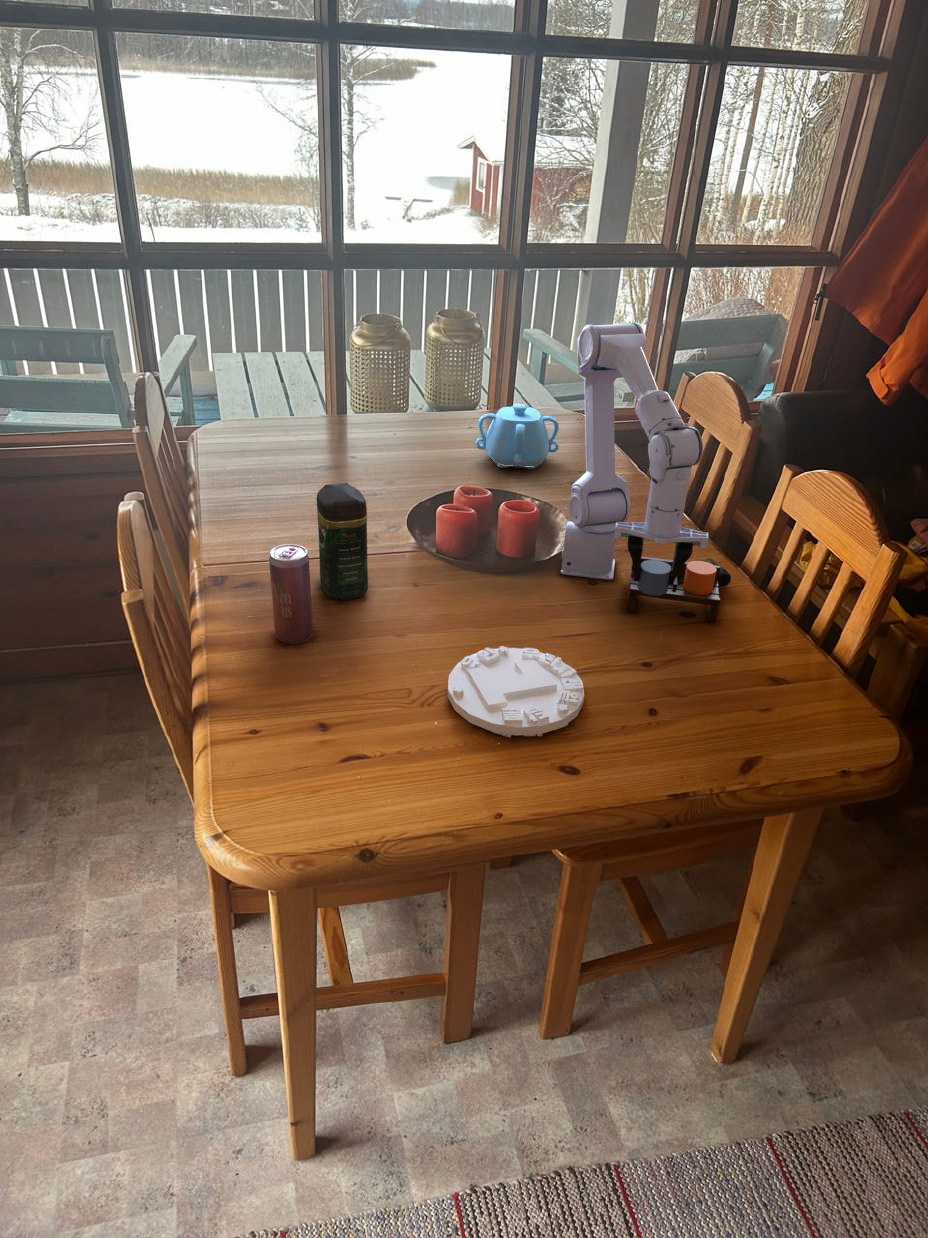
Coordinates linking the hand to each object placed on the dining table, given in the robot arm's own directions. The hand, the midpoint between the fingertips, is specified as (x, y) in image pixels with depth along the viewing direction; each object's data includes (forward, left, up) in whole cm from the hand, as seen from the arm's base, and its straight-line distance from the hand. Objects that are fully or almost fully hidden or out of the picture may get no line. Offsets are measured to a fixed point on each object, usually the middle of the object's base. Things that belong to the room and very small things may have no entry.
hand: (653, 580), depth 150 cm
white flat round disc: (-18, -27, -8) cm, 33 cm away
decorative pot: (-32, +68, -8) cm, 76 cm away
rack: (+4, +7, -8) cm, 12 cm away
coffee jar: (-52, -2, -8) cm, 53 cm away
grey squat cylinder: (0, 0, -1) cm, 1 cm away
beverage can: (-55, -19, -8) cm, 59 cm away
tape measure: (+10, +17, -8) cm, 22 cm away
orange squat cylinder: (+8, +7, -4) cm, 12 cm away
